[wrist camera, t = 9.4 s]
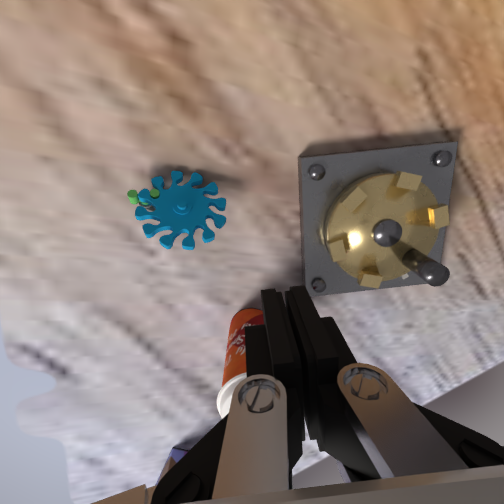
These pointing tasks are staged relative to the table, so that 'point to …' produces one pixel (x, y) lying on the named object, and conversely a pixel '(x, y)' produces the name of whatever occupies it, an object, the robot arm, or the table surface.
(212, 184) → the gear
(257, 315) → the coffee cup
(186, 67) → the table surface
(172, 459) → the blue book
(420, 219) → the brass paddle wheel
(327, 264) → the base plate
